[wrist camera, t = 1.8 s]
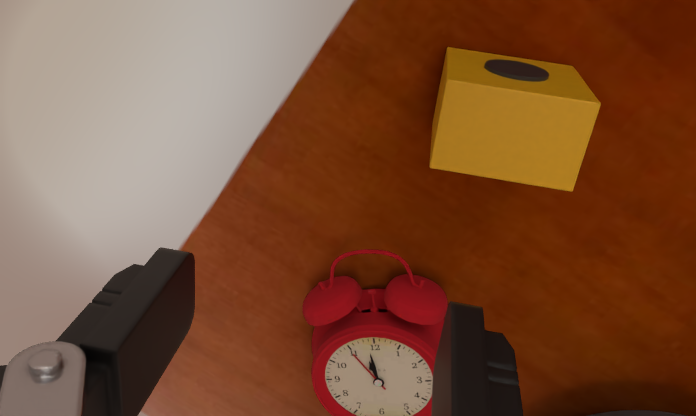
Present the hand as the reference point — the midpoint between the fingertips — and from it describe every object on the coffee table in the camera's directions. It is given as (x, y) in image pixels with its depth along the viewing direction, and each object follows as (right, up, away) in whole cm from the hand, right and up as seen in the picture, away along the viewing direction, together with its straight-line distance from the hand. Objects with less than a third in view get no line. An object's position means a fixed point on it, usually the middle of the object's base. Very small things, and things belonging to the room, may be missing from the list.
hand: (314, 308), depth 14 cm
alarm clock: (+3, -6, +30) cm, 30 cm away
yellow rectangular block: (+10, +9, +21) cm, 24 cm away
